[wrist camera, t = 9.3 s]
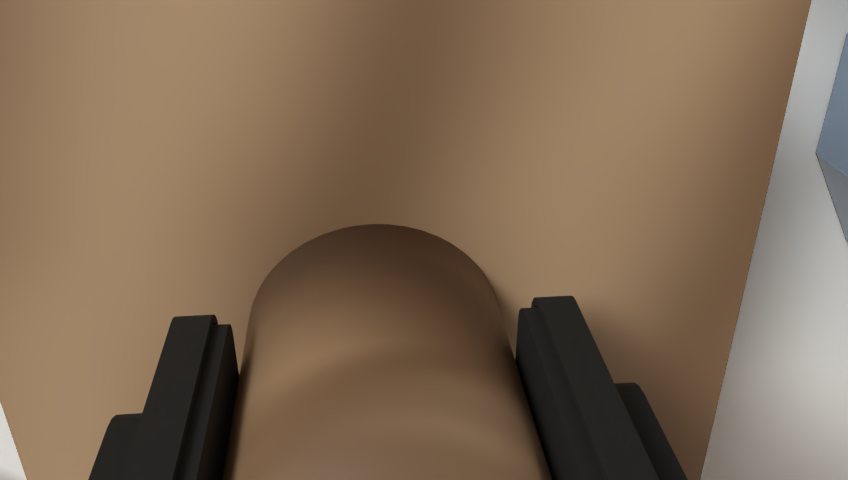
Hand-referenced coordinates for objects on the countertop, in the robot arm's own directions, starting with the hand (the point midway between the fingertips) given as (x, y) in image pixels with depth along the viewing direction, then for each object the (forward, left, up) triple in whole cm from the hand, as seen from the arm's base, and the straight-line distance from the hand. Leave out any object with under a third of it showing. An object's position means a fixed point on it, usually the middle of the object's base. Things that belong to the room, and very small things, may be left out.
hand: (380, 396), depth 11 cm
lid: (0, 0, -3) cm, 3 cm away
